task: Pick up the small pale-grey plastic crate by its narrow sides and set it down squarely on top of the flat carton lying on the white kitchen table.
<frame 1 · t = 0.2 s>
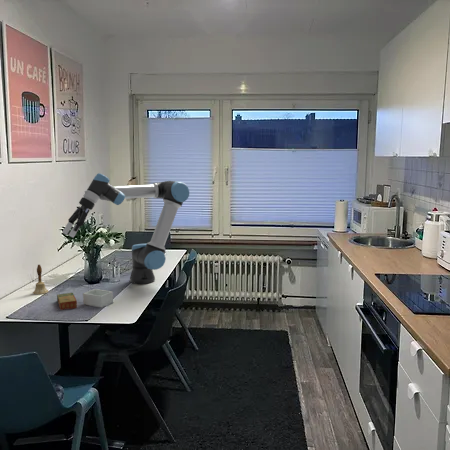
hand: (67, 235, 236), 35 cm above the table, tool tilted 35°, fingers open, 13 cm apart
carton: (67, 305, 235), on the table
hand bell: (40, 292, 256), on the table
crate: (98, 303, 236), on the table
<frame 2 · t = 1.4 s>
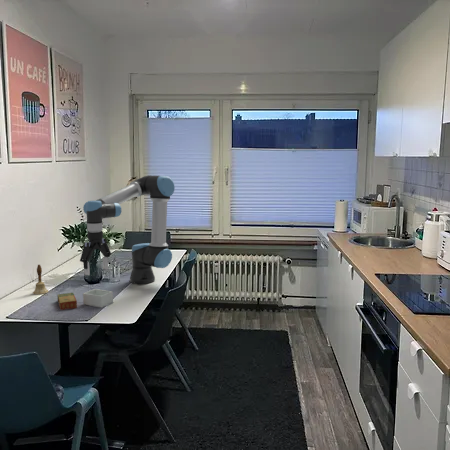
hand: (96, 271, 234), 17 cm above the table, tool pointing down, fingers open, 13 cm apart
nothing on the table moved.
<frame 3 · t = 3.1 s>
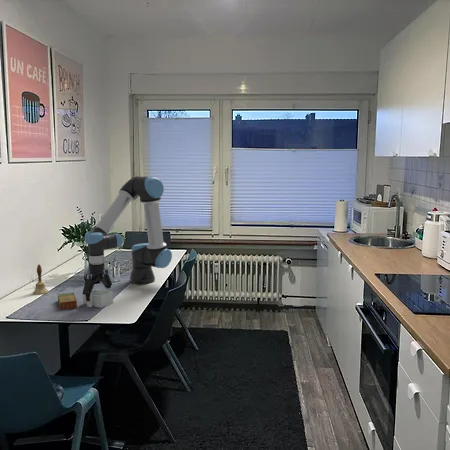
hand: (98, 303, 236), 0 cm above the table, tool pointing down, fingers open, 12 cm apart
nothing on the table moved.
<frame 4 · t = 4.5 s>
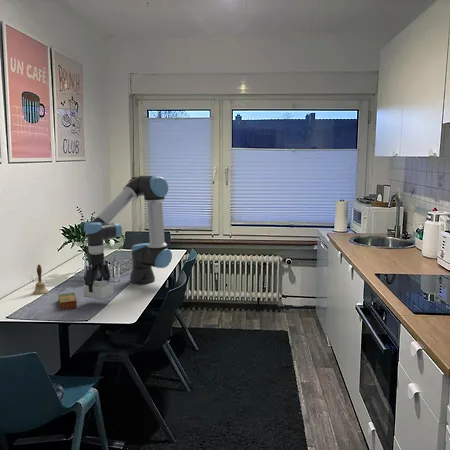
hand: (99, 294, 236), 4 cm above the table, tool pointing down, fingers closed on crate, 9 cm apart
crate: (99, 295, 236), point 4 cm above the table, touching gripper
everything else where it was.
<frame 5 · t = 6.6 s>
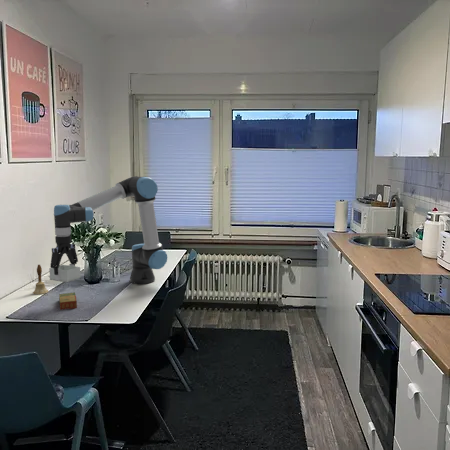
hand: (65, 278, 233), 14 cm above the table, tool pointing down, fingers closed on crate, 9 cm apart
crate: (65, 279, 233), point 13 cm above the table, touching gripper
everything else where it was.
when the fingers open (5 cm above the table, at t = 8.5 s): crate stays where it is, resting on carton.
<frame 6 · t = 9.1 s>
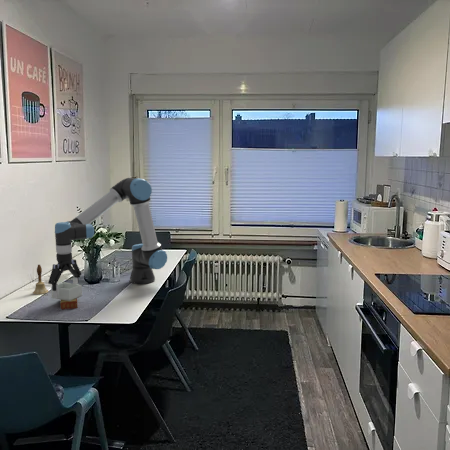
hand: (66, 293, 234), 6 cm above the table, tool pointing down, fingers open, 13 cm apart
carton: (69, 305, 236), on the table, touching crate
crate: (67, 297, 235), point 4 cm above the table, touching carton
everything else where it was.
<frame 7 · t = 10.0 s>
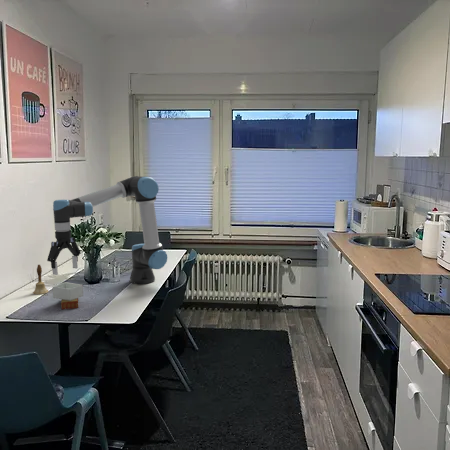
hand: (65, 271, 233), 18 cm above the table, tool pointing down, fingers open, 13 cm apart
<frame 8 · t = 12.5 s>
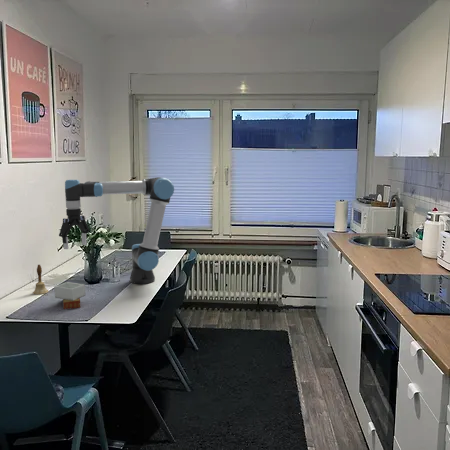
hand: (75, 246, 249), 27 cm above the table, tool pointing down, fingers open, 13 cm apart
crate: (70, 296, 235), point 4 cm above the table, touching carton
at the end: crate inside the target area on the carton (0.4 cm from its centre), point 4.5 cm above the carton's base; crate tilted 0°; crate touching carton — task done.
